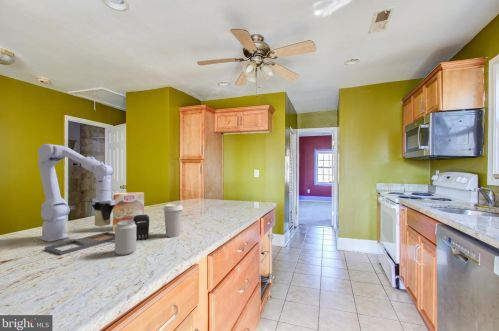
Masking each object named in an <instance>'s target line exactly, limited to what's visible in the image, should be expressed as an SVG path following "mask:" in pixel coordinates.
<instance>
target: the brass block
mask: <svg viewBox="0 0 499 331" xmlns="http://www.w3.org/2000/svg"><path fill="white" fill-rule="evenodd" d="M110 225H111V217H110V218H109V220H104V218H103V211H102V209H99V210H94V226H96V227H100V228H101V227H104V226H110Z"/></svg>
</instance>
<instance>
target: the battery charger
mask: <svg viewBox="0 0 499 331" xmlns="http://www.w3.org/2000/svg"><path fill="white" fill-rule="evenodd" d="M133 221H134V222H135V224H136V241H140V240H141V241H142V240H148V239H149V237H150V236H149V235H150V216H149V214H147V213H144V214H142V215H135V216H134V217H133Z"/></svg>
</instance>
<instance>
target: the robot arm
mask: <svg viewBox="0 0 499 331" xmlns="http://www.w3.org/2000/svg"><path fill="white" fill-rule="evenodd" d="M37 155H38V169H39V173H40V178H41V182H42V187H43V193H44V198H45V201H44V202H43V203H42V204H41V212H40V217H41V218H42V219H43V220H44V221H43V223H42V224H41V228H42V229H41V231H42V232H41V237H39V240H42V241H46V242H54V241H58V240H59V241H60V240H63V239H64V240H65V239H68V238H70V235H67V234H66V220H67V217H68V215H69V214H70V211H71V209H70V206H69V204H68V203H67V201H66V200H65V199H64V198H63V197H62V196H61V190H60V185H59V182H58V176H57V172H56V167H55V166H56V164H57V163H59V162H61V161H63V159H65V158H68V159H70V160H72V161H74V162H77V163H79V164H80V166H81V168H83V169H85V170H87V171H90V172H91V173H93V175H94V176H95V180H96V187H95V188H96V193H95V194H96V195H95V198H92V205H91V206H92V208H93V209H94V211H95V210H99V209H102V211H103V218H104V220H109V218H110V219H111V215H112V213H113V208H114V206H115V200H113V198H112V199H111V194H112V192H111V191H112V176H113V174H114V172H115V171H114V170H115V169H114V167H113V166H112V165H111V164H107V163H106V164H104V161H99V160H98V159H96V157H94V156H87V157H86V156H84V155H82V154H80V153H79V152H77V151H75V150H74V149H71V148H70V147H67V146H66V145H62V144H61V145H59V144H51V143H44V144H42V145H41V146H40V147H39V148H38V149H37Z"/></svg>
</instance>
